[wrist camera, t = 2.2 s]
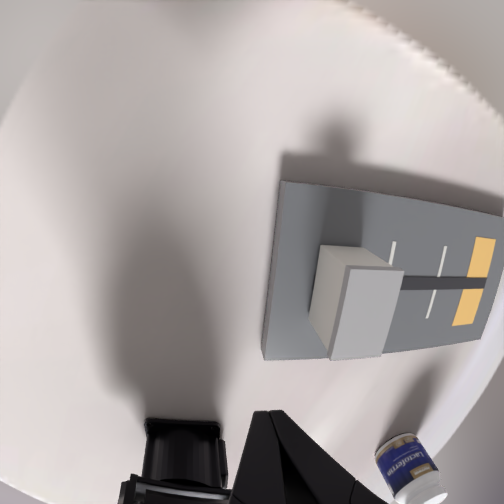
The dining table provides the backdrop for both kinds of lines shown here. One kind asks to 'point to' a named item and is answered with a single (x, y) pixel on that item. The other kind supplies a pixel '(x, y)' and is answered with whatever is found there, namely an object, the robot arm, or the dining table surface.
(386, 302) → the fader
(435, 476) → the pill bottle
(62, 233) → the dining table surface
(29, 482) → the dining table surface
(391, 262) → the mixing board
